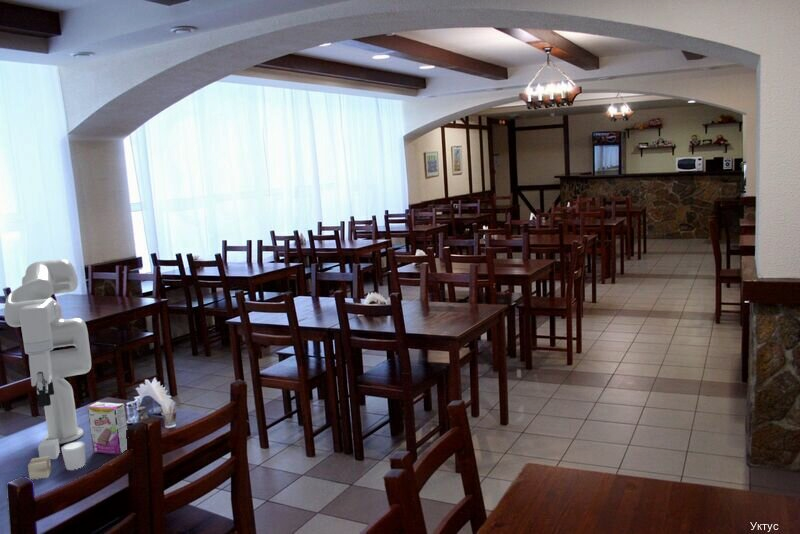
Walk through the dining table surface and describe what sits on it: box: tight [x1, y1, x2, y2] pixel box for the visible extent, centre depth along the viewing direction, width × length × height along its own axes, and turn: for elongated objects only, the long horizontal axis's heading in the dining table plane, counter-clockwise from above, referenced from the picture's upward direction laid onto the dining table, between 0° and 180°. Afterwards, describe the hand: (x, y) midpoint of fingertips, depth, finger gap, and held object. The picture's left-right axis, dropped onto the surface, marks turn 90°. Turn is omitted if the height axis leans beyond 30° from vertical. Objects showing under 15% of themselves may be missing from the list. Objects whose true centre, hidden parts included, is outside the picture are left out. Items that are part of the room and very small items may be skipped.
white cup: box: [60, 441, 86, 471], centre depth 212 cm, size 7×7×7 cm
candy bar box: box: [87, 401, 128, 456], centre depth 221 cm, size 11×5×16 cm, turn 74°
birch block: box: [27, 456, 52, 481], centre depth 207 cm, size 5×5×5 cm
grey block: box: [37, 439, 61, 460], centre depth 221 cm, size 5×5×5 cm
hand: (46, 400), depth 201 cm, fingers open, 9 cm apart
